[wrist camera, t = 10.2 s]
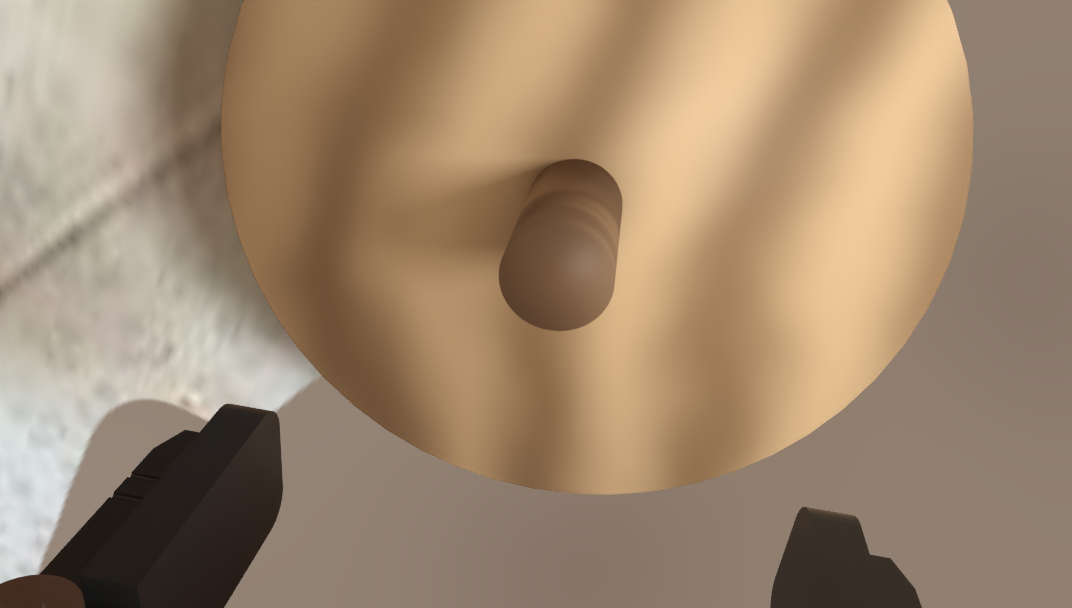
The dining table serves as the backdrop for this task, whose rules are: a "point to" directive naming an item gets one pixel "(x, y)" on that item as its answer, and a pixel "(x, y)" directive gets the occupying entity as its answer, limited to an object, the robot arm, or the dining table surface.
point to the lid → (598, 217)
